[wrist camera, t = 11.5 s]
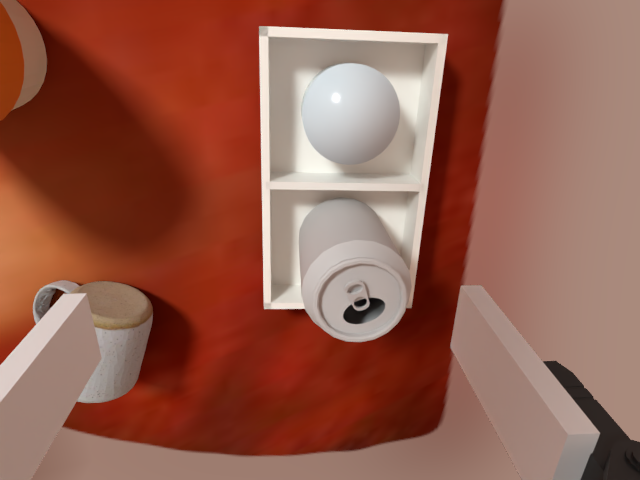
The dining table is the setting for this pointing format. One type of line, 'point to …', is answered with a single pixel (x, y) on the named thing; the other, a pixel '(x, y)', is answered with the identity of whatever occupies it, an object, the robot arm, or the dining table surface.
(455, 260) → the dining table surface
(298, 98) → the caddy
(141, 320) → the ceramic mug
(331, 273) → the can
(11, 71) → the reusable coffee cup
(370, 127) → the white dome
